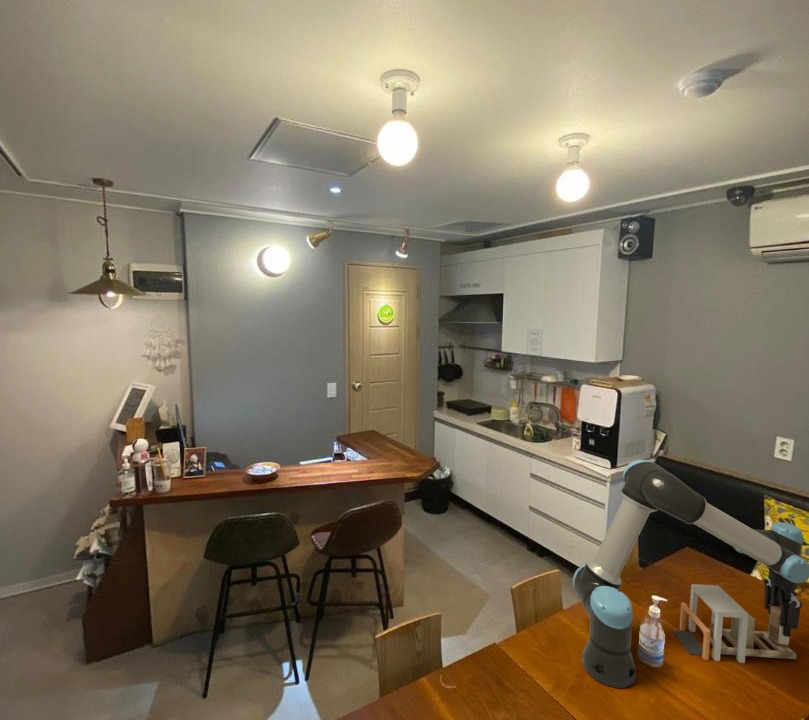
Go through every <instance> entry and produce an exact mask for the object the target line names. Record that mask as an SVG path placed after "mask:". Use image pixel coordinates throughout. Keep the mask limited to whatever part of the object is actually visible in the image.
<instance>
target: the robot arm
mask: <svg viewBox="0 0 809 720" xmlns="http://www.w3.org/2000/svg"><path fill="white" fill-rule="evenodd" d="M622 479H623V482H624V484H623V487H622V489H621V490H620V493H621V495H622V496H621V497H622V501H621V503H620V505H619V506H618V509H617V511H616V513H615V515H614V518H613V519H612V521H611V523H610V526H609V528H608V530H607V532H606V534H605V536H604V538H603V540H602V542H601V545H600V546H599V548H598V550H597V553H596V555H595V557H594V559H591V560H587V562H586V563H585V564H583V566H579V567H578V568H577V569H575V572H574V575H573V577H572V585H573V589H574V593H575V595H576V597H577V599H578V600H579V601H580V604H582V605H581V606H582V607H583V609H584V610H585V614H587V616H588V619H589V637H588V640H587V642H586V644H585V645H584V649H583V651H582V657H581V658H582V660H581V662H582V666H583V668H584V670H585V671H586V673H588V675H589V676H590V677H592V678H593V679H594V680H595V681H597V682H598V683H601V684H603V685H605V686H608V687H611V688H616V689H617V688H618V689H624V688H628V687H631V686H633V684H635V682H636V677H637V669H636V664H635V661H634V658H633V655H632V651H631V646H632V632H633V620H634V613H633V612H634V611H633V604H632V602H631V600H630V599H629V597H628V596H627V595H626V594H625V593H623V592H622V591H619V589H620V587H621V584H622V579H621V577H620V575H621V573H622V571H623V569H624V566H625V565H626V563H627V561H628V559H629V558H630V557H629V556H630V555H631V552H632V551H633V548H634V547H635V545H636V542H637V540H638V538H639V536H640V534H641V533H642V530H643V528H644V526H645V524H646V522H647V519H648V518H649V516H650V514H651V513H654V512H657V511H659V510H660V511H662V512H663V513H666V514H668V515H669V516H672V517H674V518H675V519H677V520H680V521H681V522H683V523H685V524H688V525H695V526H697V527H699V528H700V529H702V530H704V531H706V532H707V533H709V534H711V536H714V537H716V538H717V539H719V540H720V541H723V542H724V543H726V544H728V545H730V546H731V547H733V548H734V549H735V551H736V552H738V553H740V554H745V555H747V556H748V557H750V558H752V559H754V560H756V561H757V562H759V563H761V564H763V565H764V566H765V567H767V568H768V575H767V577H768V579H767V578H765V579H764V578H763V584H764V597H763V602H764V603H763V607H764V609H766V610H767V613H768V624H769V625H770V612H771V606H781V615H782V623H780V626H779V638H778V643H779V644H787V645H788V646H789V643H790V637H791V633H792V630H797V629H798V628H799V620H800V613H801V608H803V602H802V601H800V600H798V599H797V597H796V596H797V595H796V589H798V588H799V585H800V584H801V583H805V582H807V581H808V579H809V563H808V562H807V561H806V560H805V559H804V558H802V552H803V551H802V550H803V544H804V542H803V531H802V530H801V529H800V528H799V527H798V526H796V525H793V524H790V523H787V522H781V521H780V522H778V521H777V522H774V523H772V527H771V529H766V530H765V529H754V528H751V527H750V526H748V525H746V524H744V523H743V522H741V521H739V520H738V519H737V518H734V517H732V516H731V515H729V514H727V513H725V512H724V511H722V510H720V509H718V508H717V507H715V506H713V504H710V503H708V502H707V500H706V498H705V497H704V496H703V495H701V494H700V493H698V492H696V490H693V488H691V487H690V486H688V485H687V484H685V483H684V482H683V481H682V480H680V479H679V478H678V477H677V476H676V475H674V474H672V473H671V472H670V471H668V470H666V469H664V468H663V467H662V466H660V465H659V464H657V463H656V462H652V461H650V460H647V459H637V460H635V461H634V460H633V461H631V462H630V463H628V464H627V465H626V467H625V468H624V470H623V474H622ZM769 625H768V626H769Z"/></svg>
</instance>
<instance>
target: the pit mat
mask: <svg viewBox="0 0 809 720" xmlns="http://www.w3.org/2000/svg"><path fill="white" fill-rule="evenodd" d="M671 631H672V633H673V634H674V635H675V636H676V638H677V640H678V641H679V642H680V644H682V646H683V647H684V648H685V650H686V651H687V652H688V655H691V656H702V654H703V644H701V643H700V641H699V640H698V639H697V638H696V637H695V636H694V634H693V633H692V632H691V631H690V630H689V631H688V630H685V631H681V630H671ZM709 657H710V654H709Z"/></svg>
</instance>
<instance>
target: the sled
mask: <svg viewBox="0 0 809 720" xmlns="http://www.w3.org/2000/svg"><path fill="white" fill-rule="evenodd" d="M780 623H782V615H781V605H780V606H771V612H770V625H768V631H765V630H764V631H763V630H761V631H760V630H754V644H755V645H756V646H757V647H758V648H756V649H755V648H754V649H746V653H745V657H755V658H756V657H757V658H758V657H759V658H773V659H774V658H775V659H785V660H786V659H789V660H796V659H797V654H796V653H795V652H794V651H793V650H792V649H791V648H790V647H789V645H787V644H779V643H778V638H779V626H780ZM707 628H708V630H709V631H710V645H712V646H713V637H714V623H709V627H707ZM700 632H701V633H702V634H703V636H704V632H703V631H702V630H701V629H700ZM722 636H724V637H725V638H726V640H727V641H728V642H729V643H730V644H731V645H732V646H733V647H729V646H727V645H726V644H725V643H724V641H723V640H722V639H721V653H720V655H727V656H729V655H731V656H737V646H738V642H737V641H736V639H735V638H734V637H733V636H732V635H731V628H729V629H728V628H722ZM761 639H764V641H766V642H767V643H768V644H769V645H770V646H771V647H772V648H773V649H770V648H769V647H768V646H767V645H766V644H765V643H764V642H763V641H762V640H761ZM759 648H760V649H759Z"/></svg>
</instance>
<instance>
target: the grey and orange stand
mask: <svg viewBox="0 0 809 720" xmlns="http://www.w3.org/2000/svg"><path fill="white" fill-rule="evenodd" d="M698 598H700V599H701V600H702V601H703V602H704V604H706V606H707V607H709V609H710V610H711V620H710V621H711V623H714V637H713V645H712V654H711V658H712V659H713V661H715V662H720V661H721V654H720V653H721V640H722V637H723V635H722V629H723V623H724V618H732V617H735V618H740V620H739V633H738V646H737V655H736V660H737V662H738V663H740V664H741V663H742V664H745V663H746V656H745V653H746V640H747V626H748V614H749V612H747V611H746V610H745V609H744V608H743V607H742V606H741V605H740V604H739V603H738V602H736V601H735V599H733V598H732V597H731V596H730V595H729V594H728V593H727V592H726V591H725V590H724V589H722V587H720V586H719V585H715V584H698V583H697V584H696V583H695V584H692V583H691V586H690V599H689V600H690V601H689V606H688V605H687V603H686V602H681V603H680V615H679V616H680V617H679V630H680V631H686V622H687V621H686V620H687V615H688V630H689V632H691V633H692V632H693V633H694V632H696V630H697V629H696V628H697V626H698V627H699V629H700V631H701V630H702V631H703V632H704V635H703V640H702V647H703V654H702V655H701V656H702V657H701V658H703V661H705V660H706V661H709V657H710V656H709V655H710V646H711V643H710V631H709V630H708V628H709V627H707V626H706V625H705V624H704V622H702V621H701V618H699V617H698V615H697V610H698ZM696 625H697V626H696Z"/></svg>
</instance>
